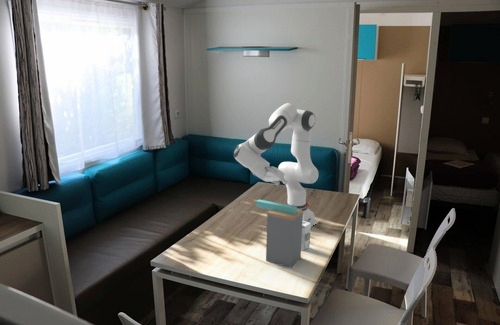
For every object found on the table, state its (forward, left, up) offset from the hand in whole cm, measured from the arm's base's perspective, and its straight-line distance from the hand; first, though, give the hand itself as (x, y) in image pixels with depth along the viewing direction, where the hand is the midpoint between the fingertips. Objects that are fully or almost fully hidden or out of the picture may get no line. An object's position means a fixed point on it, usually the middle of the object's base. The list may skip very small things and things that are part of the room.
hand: (282, 183), depth 217 cm
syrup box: (-13, +4, -38) cm, 41 cm away
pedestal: (+4, +7, -38) cm, 39 cm away
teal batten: (+6, +2, -12) cm, 14 cm away
